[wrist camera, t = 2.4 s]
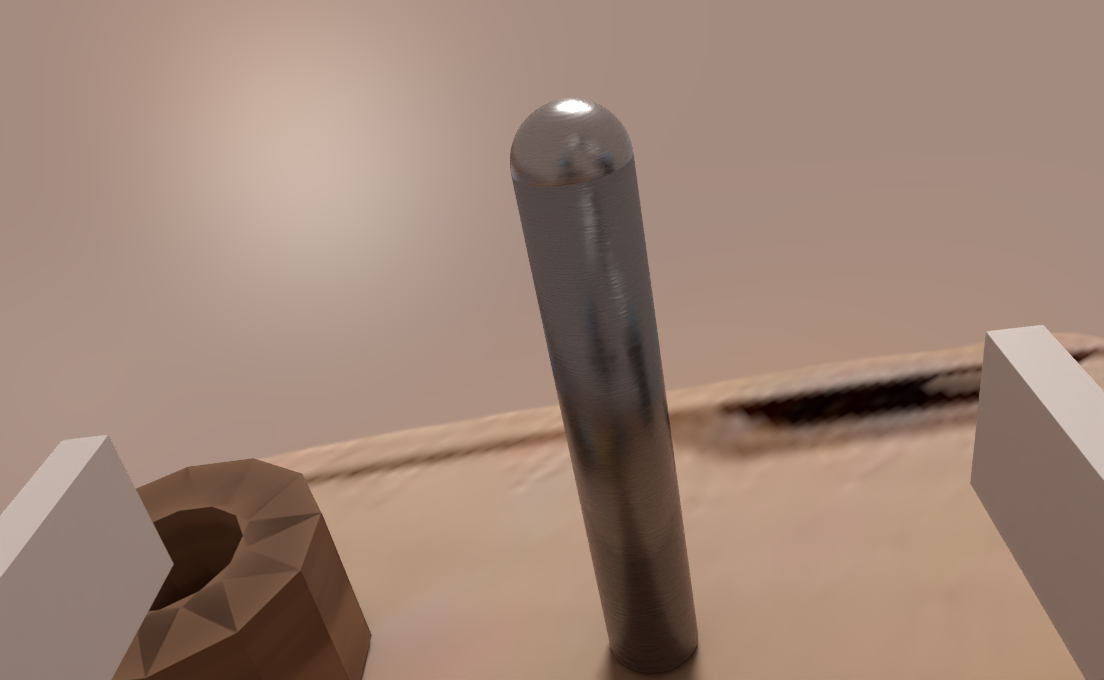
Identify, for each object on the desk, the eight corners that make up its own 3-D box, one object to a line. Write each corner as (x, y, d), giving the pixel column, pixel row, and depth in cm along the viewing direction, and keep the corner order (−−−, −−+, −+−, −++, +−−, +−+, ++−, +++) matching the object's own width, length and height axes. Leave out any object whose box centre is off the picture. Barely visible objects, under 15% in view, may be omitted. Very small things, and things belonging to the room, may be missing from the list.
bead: (389, 564, 35) (345, 446, 32) (332, 795, 27) (266, 666, 24) (162, 590, 36) (99, 478, 33) (42, 819, 28) (-57, 699, 25)
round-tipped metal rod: (692, 597, 31) (622, 73, 22) (703, 668, 29) (628, 109, 19) (608, 606, 32) (503, 94, 22) (611, 677, 29) (493, 131, 20)
